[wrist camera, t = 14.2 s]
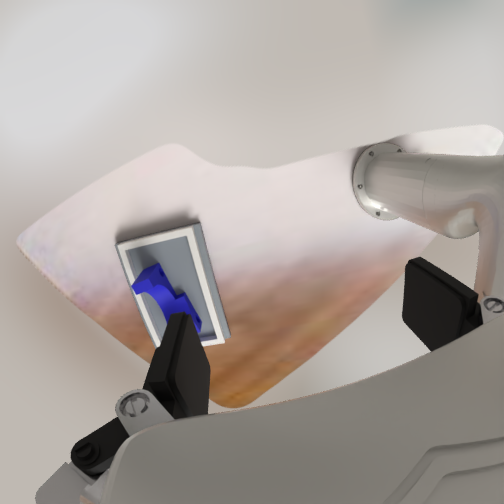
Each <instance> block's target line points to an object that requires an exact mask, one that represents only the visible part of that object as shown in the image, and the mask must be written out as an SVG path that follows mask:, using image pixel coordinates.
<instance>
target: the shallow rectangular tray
mask: <svg viewBox="0 0 504 504" xmlns="http://www.w3.org/2000/svg"><path fill="white" fill-rule="evenodd" d="M115 247H116V250H117V253H118V256H119V259H120V262H121V265H122V268H123V270H124V273H125V276H126V279H127V281H128V284H129V287H130V289H131V292H132V295H133V297H134V300H135V302H136V305H137V307H138V310H139V312H140V314H141V317H142V319H143V322H144V324H145V326H146V328H147V331H148V333H149V335H150V337H151V340H152V342H153V344H154V346H155V348H157V347H160V344H161V341H162V338H163V335H164V332H165V329H166V326H167V323H166V320H165V317H164V314H163V312H162V310H161V308H160V306H159V305H158V303H157V302H156V301H155V299H154V298H153V297H152V296H151V295H150V294H148V293H146V292H143V293H140V294H138V295H136V294H135V292H134V290H133V289H132V287H131V285H132V284H133V283H134V281H135V280H136V279H137V277H138V276H139V275H140V273H141V272H142V271H143V269H146V268H148V267H150V266H152V265H155V264H157V263H160V265H161V267H162V269H163V271H164V273H165V275H166V276H167V278H168V280H169V282H170V284H171V286H172V287H173V289H174V291H175V293H176V295H179V294H182V293H184V292H185V293H186V295H187V296H188V298H189V300H190V302H191V303H192V305H193V307H194V309H195V310H196V312H197V314H198V316H199V317H200V319H201V321H202V326H201V332H199V333H198V335H199V338H200V341H201V343H202V346H208V345H214V344H220V343H225V338H231V333H230V330H229V327H228V323H227V320H226V316H225V313H224V309H223V306H222V302H221V299H220V295H219V292H218V288H217V284H216V281H215V277H214V273H213V270H212V266H211V262H210V258H209V254H208V251H207V247H206V243H205V239H204V235H203V231H202V227H201V223H195V224H191V225H187V226H182V227H178V228H174V229H170V230H166V231H162V232H158V233H153V234H149V235H145V236H142V237H138V238H134V239H130V240H126V241H122V242H118V243H116V244H115Z"/></svg>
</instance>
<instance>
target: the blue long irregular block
mask: <svg viewBox="0 0 504 504" xmlns="http://www.w3.org/2000/svg"><path fill="white" fill-rule="evenodd" d="M131 287H132V289H133V290H134V292H135V294H136V295H138V294H140V293H143V292H146V293H148V294H150V295H151V296H152V297H153V298H154V299H155V301H156V302H157V303H158V305H159V306H160V308H161V310H162V312H163V314H164V317H165V320H166V323H168V320H169V318H170V315H171V314H172V313H178V312H184V311H185V312H186V314H191V316H192V319H193V322H194V324H195V327H196V330H197V333H199V332H201V326H202V321H201V319H200V317H199V316H198V314H197V312H196V310H195V309H194V307H193V305H192V303H191V302H190V300H189V298H188V296H187V295H186V293H185V292H184V293H182V294H179V295H176V293H175V291H174V289H173V287H172V286H171V284H170V282H169V280H168V278H167V276H166V275H165V273H164V271H163V269H162V267H161V265H160V263H157V264H155V265H152V266H150V267H148V268H146V269H143V271H142V272H141V273H140V275H139V276H138V277H137V279H136V280H135V281H134V283H133V284H132V285H131Z"/></svg>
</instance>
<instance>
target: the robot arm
mask: <svg viewBox="0 0 504 504" xmlns="http://www.w3.org/2000/svg"><path fill="white" fill-rule="evenodd" d="M369 153H370V155H369ZM358 184H359V187H358ZM353 187H354V192H355V196H356V198H357V200H358V202H359V204H360V205H361V207H362V208H363V209H364V210H365V211H366V212H367V213H368V214H369V215H371V216H372V217H375V218H377V219H380V220H394V219H397V218H399V217H401V218H403V219H406V220H408V221H410V222H413V223H415V224H418V225H420V226H422V227H425V228H427V229H429V230H432V231H434V232H436V233H438V234H441V235H443V236H446V237H449V238H453V239H462V238H466V237H469V236H472V235H474V234H475V233H477V232H479V256H478V264H477V272H476V279H475V284H474V291H473V290H472V289H470V288H469V287H467V286H466V285H464V284H463V283H461V282H460V281H458V280H457V279H455V278H454V277H452V276H451V275H449V274H448V273H446V272H444V271H443V270H441V269H440V268H438V267H436V266H434V265H433V264H432V263H430V262H428V261H427V260H425V259H423V258H421V257H418V258H414V259H411V260H409V261H408V264H406V266H405V285H404V299H403V311H402V318H403V321H404V323H406V325H407V326H408V327H409V328H410V329H411V330H412V331H413V332H414V333H415V334H416V335H417V337H418V338H419V339H420V340H421V341H422V342H423V343H424V344H425V345H426V346H427V347H428V349H429V350H430V351H431V352H430V353H427V354H425V355H423V356H421V357H419V358H416V359H414V360H412V361H409V362H407V363H404V364H402V365H400V366H397V367H395V368H392V369H390V370H387V371H384V372H382V373H379V374H376V375H374V376H371V377H368V378H365V379H362V380H359V381H356V382H353V383H350V384H347V385H344V386H341V387H337V388H334V389H330V390H327V391H323V392H320V393H316V394H312V395H309V396H305V397H300V398H297V399H292V400H288V401H283V402H279V403H274V404H269V405H264V406H258V407H253V408H247V409H240V410H234V411H227V412H221V413H214V414H208V402H209V386H210V365H209V362H208V359H207V357H206V354H205V351H204V349H203V346H202V343H201V341H200V338H199V335H198V333H197V330H196V327H195V324H194V322H193V319H192V316H191V314H186V312H185V311H184V312H178V313H172V314H171V315H170V318H169V320H168V323H167V326H166V329H165V332H164V335H163V338H162V341H161V344H160V347H157V348H156V350H155V353H154V356H153V358H152V361H151V364H150V368H149V370H148V373H147V376H146V380H145V383H144V386H143V389H137V390H132V391H130V392H127V393H126V394H124V395H123V396H122V397H121V398H120V399H119V400H118V402H117V404H116V407H115V411H116V414H117V416H118V417H116V418H115V419H113V420H112V421H110V422H108V423H107V424H105V425H104V426H102V427H101V428H99V429H97V430H96V431H94V432H92V433H91V434H89V435H88V436H86V437H84V438H83V439H81V440H79V441H78V442H77V443H76V444H75V445H74V447H73V448H72V451H71V460H72V461H71V462H70V463H69V464H68V463H66V462H65V463H64V464H63V465H62V466H61V467H60V468H59V469H58V470H57V471H56V472H55V473H54V474H53V475H52V476H51V477H50V478H49V479H48V480H47V481H46V482H45V483H44V484H43V485H42V486H41V487H40V488H39V490H38V491H37V493H36V497H35V499H36V504H504V155H496V156H461V155H446V154H427V153H407V152H406V151H405V150H403V149H402V148H401V147H399V146H397V145H394V144H391V143H379V144H376V145H373V146H371V147H369V148H368V149H366V150H365V151H364V152H363V153H362V155H361V156H360V157H359V159H358V161H357V163H356V165H355V169H354V174H353ZM376 212H377V213H376Z"/></svg>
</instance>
